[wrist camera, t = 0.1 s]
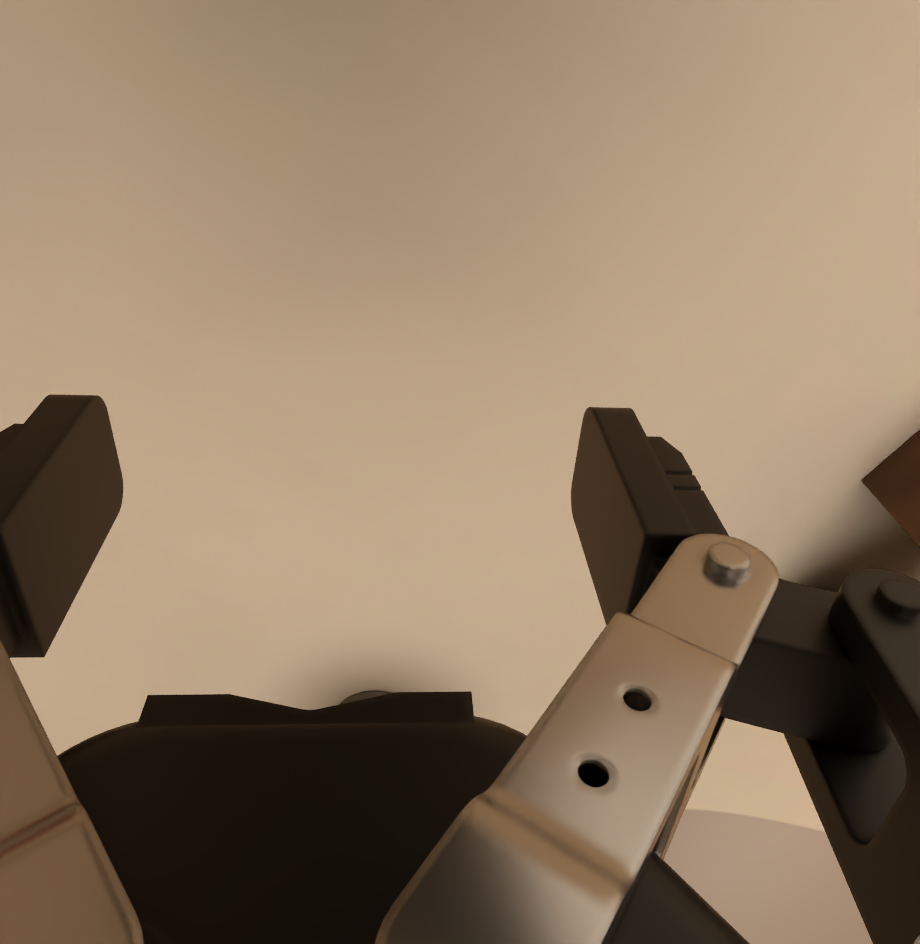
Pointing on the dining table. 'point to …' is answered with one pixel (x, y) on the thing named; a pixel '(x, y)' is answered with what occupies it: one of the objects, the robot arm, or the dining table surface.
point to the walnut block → (900, 486)
